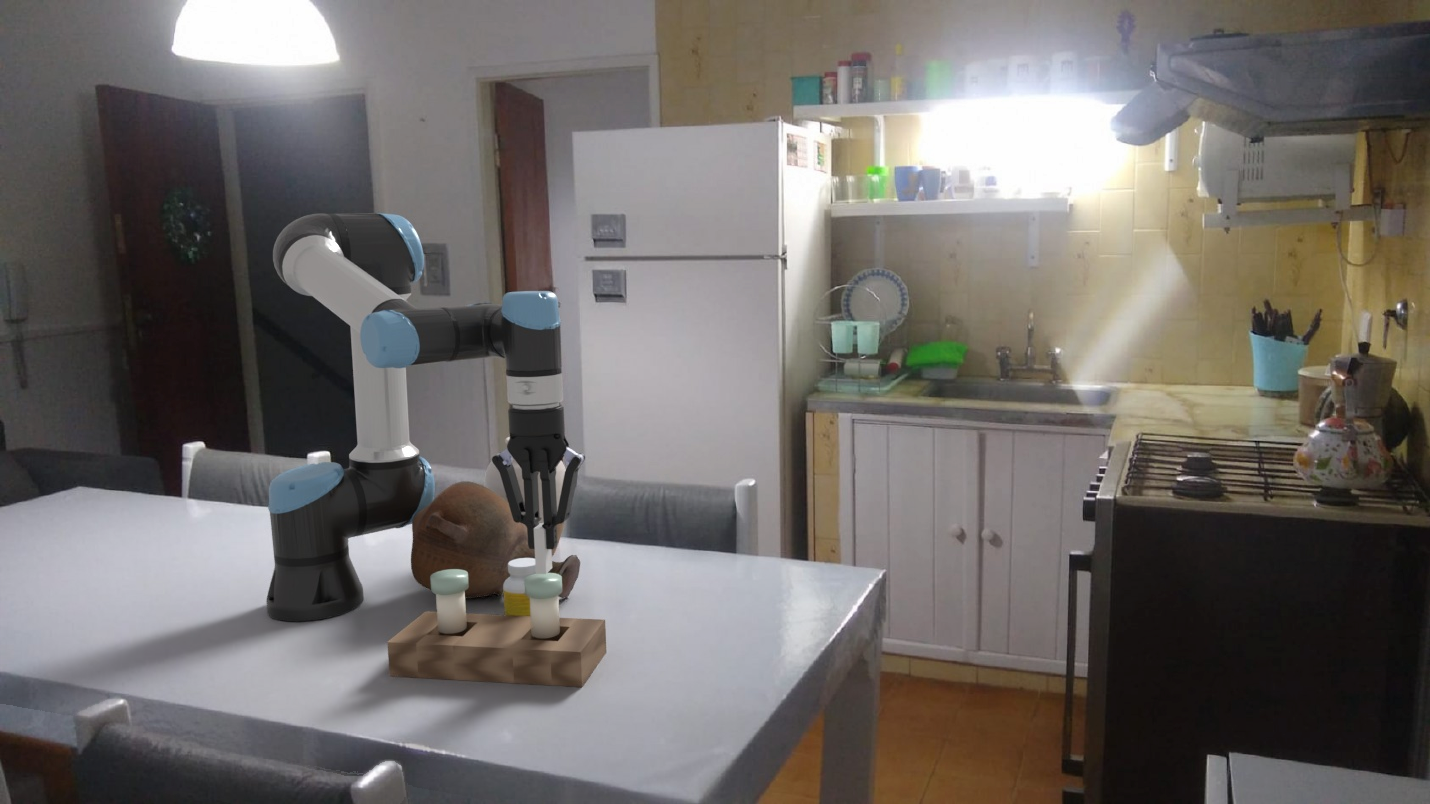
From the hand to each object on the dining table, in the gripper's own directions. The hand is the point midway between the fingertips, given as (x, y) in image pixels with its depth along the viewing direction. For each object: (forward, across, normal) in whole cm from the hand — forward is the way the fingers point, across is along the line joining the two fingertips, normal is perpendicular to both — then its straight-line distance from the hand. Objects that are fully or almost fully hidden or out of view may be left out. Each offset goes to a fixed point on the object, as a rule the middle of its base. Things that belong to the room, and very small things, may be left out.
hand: (544, 570), depth 146 cm
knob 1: (+9, -14, 0) cm, 17 cm away
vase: (+14, -21, +51) cm, 57 cm away
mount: (+14, -7, 0) cm, 16 cm away
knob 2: (+9, 0, 0) cm, 9 cm away
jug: (+14, -18, +27) cm, 36 cm away
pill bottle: (+14, -7, +11) cm, 19 cm away
